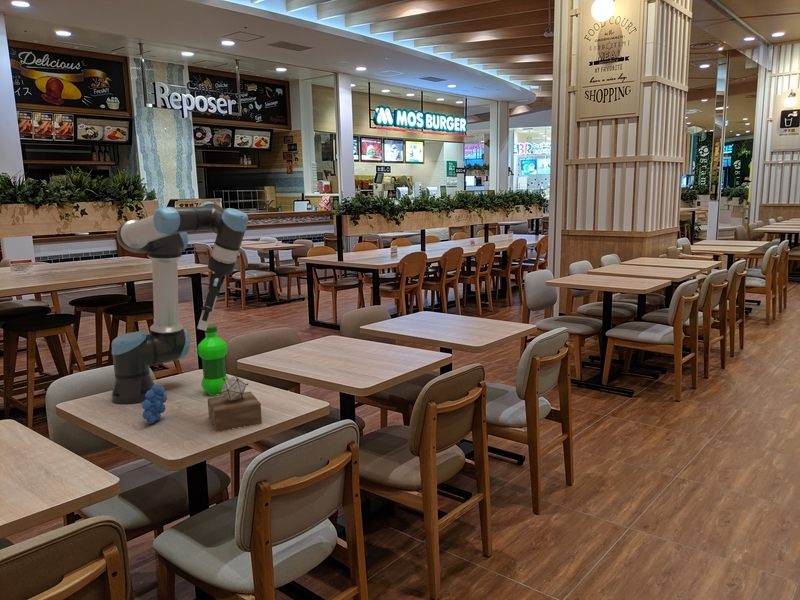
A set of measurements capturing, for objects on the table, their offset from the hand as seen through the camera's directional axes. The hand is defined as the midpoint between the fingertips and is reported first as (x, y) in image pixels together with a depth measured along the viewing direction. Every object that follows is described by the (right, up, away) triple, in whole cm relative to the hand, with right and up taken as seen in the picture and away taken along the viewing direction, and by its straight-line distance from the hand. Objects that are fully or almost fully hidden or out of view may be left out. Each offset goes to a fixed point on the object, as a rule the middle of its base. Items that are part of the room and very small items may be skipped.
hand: (204, 321), depth 192 cm
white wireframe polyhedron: (+8, -26, +4) cm, 27 cm away
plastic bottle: (-6, -28, +33) cm, 44 cm away
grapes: (-18, -33, +6) cm, 38 cm away
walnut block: (+8, -33, +4) cm, 34 cm away
